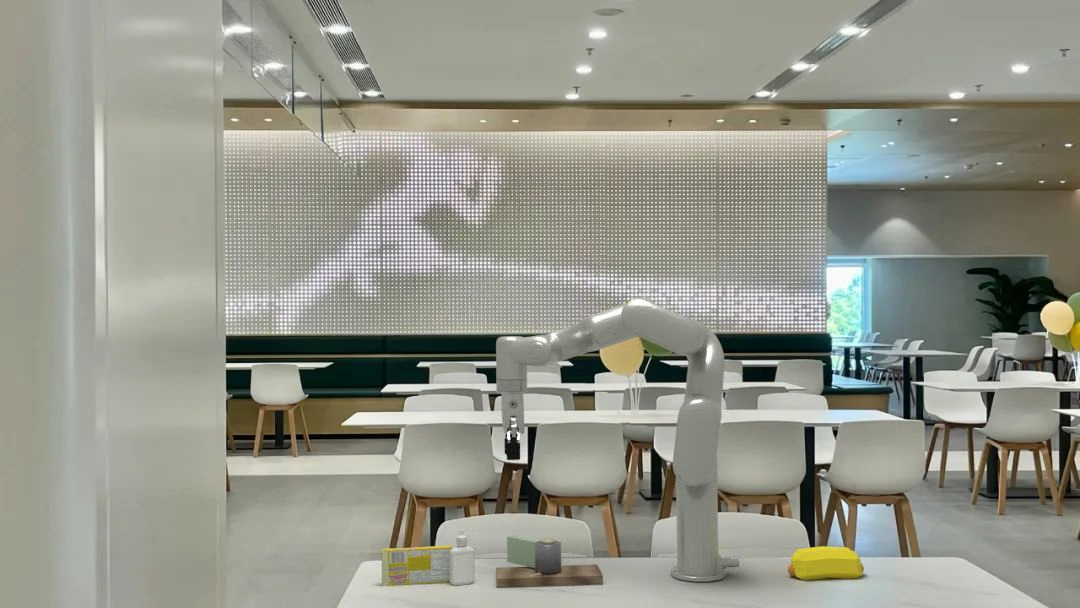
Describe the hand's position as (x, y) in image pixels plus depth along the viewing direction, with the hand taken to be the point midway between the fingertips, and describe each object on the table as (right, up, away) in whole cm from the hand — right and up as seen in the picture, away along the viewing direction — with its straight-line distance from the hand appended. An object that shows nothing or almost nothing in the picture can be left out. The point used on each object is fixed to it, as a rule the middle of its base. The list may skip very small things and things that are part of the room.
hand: (512, 456), depth 232 cm
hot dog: (+73, -26, -12) cm, 78 cm away
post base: (+9, -26, -12) cm, 31 cm away
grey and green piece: (+5, -24, -9) cm, 27 cm away
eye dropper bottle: (-11, -27, -14) cm, 32 cm away
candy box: (-21, -27, -13) cm, 37 cm away
